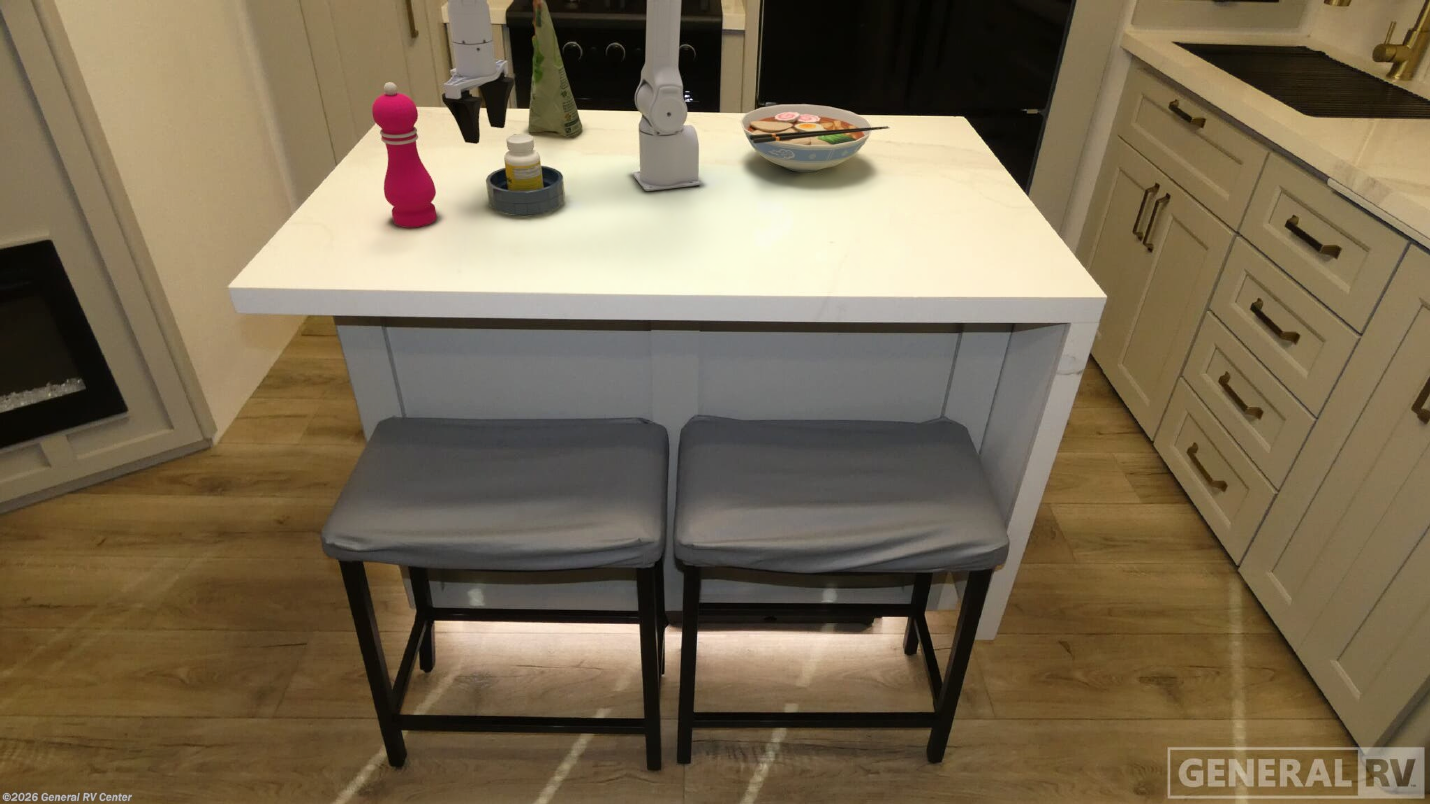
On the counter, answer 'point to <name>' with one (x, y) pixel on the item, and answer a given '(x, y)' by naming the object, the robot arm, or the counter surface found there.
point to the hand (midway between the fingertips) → (485, 134)
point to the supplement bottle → (522, 164)
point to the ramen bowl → (806, 135)
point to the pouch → (550, 81)
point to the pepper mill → (404, 160)
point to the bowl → (525, 194)
